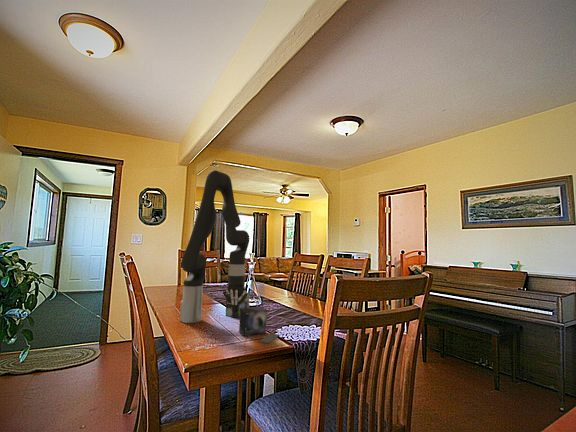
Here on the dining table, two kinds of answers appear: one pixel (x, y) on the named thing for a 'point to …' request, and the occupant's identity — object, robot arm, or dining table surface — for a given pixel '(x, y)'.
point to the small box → (252, 321)
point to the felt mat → (269, 338)
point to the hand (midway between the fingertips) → (235, 313)
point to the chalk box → (243, 305)
